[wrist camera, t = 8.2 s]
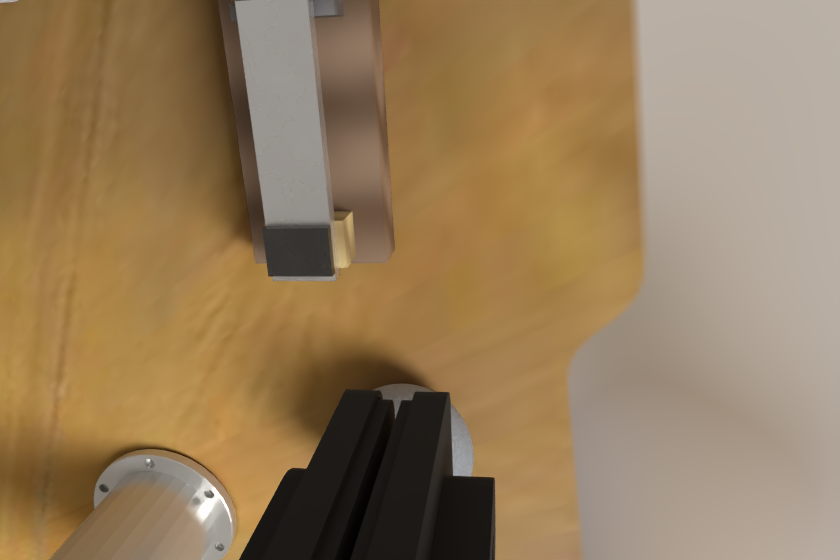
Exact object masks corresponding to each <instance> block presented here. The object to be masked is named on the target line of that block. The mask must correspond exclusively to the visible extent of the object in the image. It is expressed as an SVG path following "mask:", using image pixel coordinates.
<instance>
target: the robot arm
mask: <svg viewBox="0 0 840 560" xmlns="http://www.w3.org/2000/svg"><path fill="white" fill-rule="evenodd" d="M93 498H94V510H93V511H92V512H91V514H90V515H89V516H88V517H87V518H86V519H85V520H84V521H83V522H82V523H81V525H80V526H79V527H78V528H77V529H76V530H75V531H74V532H73V533H72V534H71V536H70V537H69V538H68V539H67V540H66V541H65V542H64V543H63V544H62V545H61V547H60V548H59V549H58V550H57V551H56V552H55V553H54V554H53V555H52V556H51V558H50V559H49V560H222V558H223V557H224V556H225V555H226V553H227V552H228V550H229V548H230V546H231V545H232V543H233V541H234V537H235V534H236V526H237V519H236V514H235V509H234V506H233V504H232V501H231V499H230V497H229V495H228V493H227V492H226V490H225V489H224V487H223V486H222V484H221V483H220V482H219V481H218V480H217V479H216V478H215V477H214V476H213V475H212V474H211V473H210V472H209V471H207V470H206V469H205V468H204V467H203V466H201V465H199V464H198V463H196V462H194V461H193V460H191V459H189V458H187V457H184V456H182V455H179V454H177V453H173V452H169V451H165V450H157V449H144V450H136V451H133V452H129V453H126V454H124V455H122V456H121V457H119V458H117V459H116V460H114V461H113V462H112V463H111V464H110V465H109V466H108V467H107V468H106V469H105V470H104V472H103V473H102V474H101V475H100V477H99V479H98V481H97V483H96V485H95V490H94V496H93ZM239 560H495V479H494V478H492V477H471V476H453V456H452V429H451V403H450V394H449V392H420V391H416V392H415V393H414V396H413V399H412V400H402V401H401V403H400V406H399V409H398V412H397V416H396V419H395V408H394V402H393V400H388V399H383V396H382V393H381V391H380V390H346V391H345V392H344V394H343V396H342V398H341V400H340V402H339V404H338V406H337V408H336V410H335V412H334V414H333V416H332V418H331V420H330V422H329V424H328V426H327V429H326V431H325V433H324V435H323V437H322V439H321V441H320V443H319V445H318V447H317V449H316V451H315V453H314V455H313V457H312V459H311V461H310V463H309V465H308V467H307V469H302V468H292V469H290V470H288V471H287V473H286V474H285V475H284V477H283V479H282V481H281V483H280V484H279V486H278V488H277V490H276V492H275V494H274V496H273V497H272V499H271V501H270V503H269V505H268V507H267V509H266V510H265V512H264V514H263V516H262V518H261V520H260V522H259V523H258V525H257V527H256V529H255V531H254V533H253V535H252V536H251V538H250V540H249V542H248V544H247V546H246V548H245V550H244V551H243V553H242V555H241V557H240V559H239Z"/></svg>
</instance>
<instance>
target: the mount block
mask: <svg viewBox="0 0 840 560" xmlns="http://www.w3.org/2000/svg"><path fill="white" fill-rule="evenodd" d="M218 5H219V12H220V19H221V26H222V33H223V40H224V47H225V54H226V61H227V67H228V74H229V81H230V88H231V95H232V102H233V109H234V116H235V123H236V130H237V137H238V144H239V151H240V158H241V165H242V172H243V179H244V186H245V193H246V200H247V207H248V214H249V221H250V228H251V235H252V242H253V249H254V256H255V263H267V261H266V254H265V247H264V240H263V232H262V228H264V227H265V226H266V225H265V217H264V210H263V203H262V196H261V188H260V181H259V174H258V167H257V159H256V152H255V145H254V137H253V130H252V123H251V116H250V108H249V101H248V94H247V87H246V79H245V72H244V65H243V58H242V50H241V43H240V36H239V29H238V21H237V14H236V7H235V6H233V5H232V4H231V3H230V2H229V0H218ZM313 5H314V15H315V26H316V36H317V46H318V56H319V66H320V76H321V86H322V97H323V107H324V117H325V127H326V137H327V147H328V157H329V167H330V178H331V188H332V198H333V208H334V218H335V228H336V238H337V249H338V259H339V268H347V267H348V266H349V265H350V263H387V262H388V260H389V258H390V257H391V255H392V253H393V252H394V250H395V245H394V230H393V215H392V199H391V184H390V168H389V153H388V137H387V122H386V107H385V91H384V76H383V60H382V45H381V30H380V14H379V0H314V1H313Z"/></svg>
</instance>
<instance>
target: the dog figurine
mask: <svg viewBox="0 0 840 560" xmlns="http://www.w3.org/2000/svg"><path fill="white" fill-rule="evenodd" d="M16 1H18V0H0V3H9V2H16Z"/></svg>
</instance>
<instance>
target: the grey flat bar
mask: <svg viewBox="0 0 840 560" xmlns="http://www.w3.org/2000/svg"><path fill="white" fill-rule="evenodd" d="M313 1H314V0H229V2H230V3H231V4H232V5H233V6H235V7H236V14H237V21H238V29H239V36H240V43H241V50H242V58H243V65H244V72H245V79H246V87H247V94H248V101H249V108H250V116H251V123H252V130H253V137H254V145H255V152H256V159H257V167H258V174H259V181H260V188H261V196H262V203H263V210H264V217H265V225H266V226H265V227H264V228H262V232H263V240H264V247H265V254H266V261H267V268H268V275H269V276H273V281H336V280H337V279H338V277H339V276H340V269H339V259H338V249H337V238H336V228H335V218H334V208H333V198H332V188H331V178H330V167H329V157H328V147H327V137H326V127H325V117H324V107H323V97H322V86H321V76H320V66H319V56H318V46H317V36H316V26H315V15H314V5H313Z"/></svg>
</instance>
